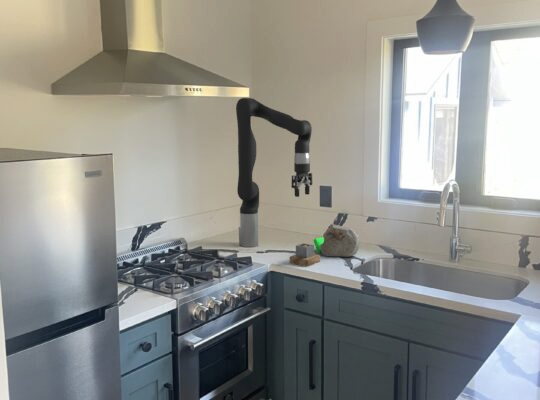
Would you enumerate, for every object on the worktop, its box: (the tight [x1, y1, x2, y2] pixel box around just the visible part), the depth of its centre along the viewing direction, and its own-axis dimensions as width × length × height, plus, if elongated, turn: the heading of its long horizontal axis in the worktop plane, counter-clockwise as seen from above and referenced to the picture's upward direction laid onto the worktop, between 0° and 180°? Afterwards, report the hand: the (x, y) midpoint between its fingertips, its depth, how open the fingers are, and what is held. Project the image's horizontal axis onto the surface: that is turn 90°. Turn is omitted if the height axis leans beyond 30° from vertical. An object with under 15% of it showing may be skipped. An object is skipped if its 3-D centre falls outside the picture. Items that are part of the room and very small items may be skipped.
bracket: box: [312, 236, 324, 254], centre depth 274 cm, size 20×10×7 cm, turn 121°
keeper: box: [289, 245, 321, 267], centre depth 250 cm, size 10×10×8 cm
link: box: [295, 242, 315, 258], centre depth 250 cm, size 6×6×5 cm
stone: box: [320, 223, 361, 258], centre depth 260 cm, size 19×7×15 cm, turn 74°
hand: (302, 195), depth 265 cm, fingers open, 8 cm apart
